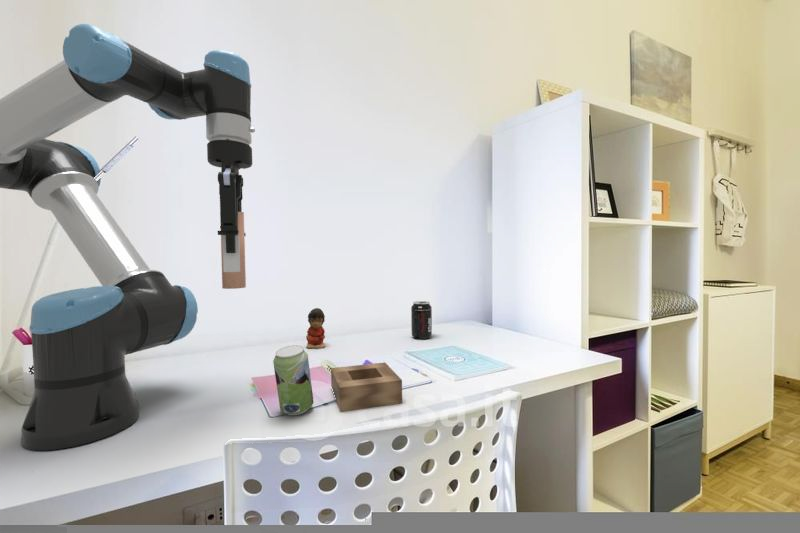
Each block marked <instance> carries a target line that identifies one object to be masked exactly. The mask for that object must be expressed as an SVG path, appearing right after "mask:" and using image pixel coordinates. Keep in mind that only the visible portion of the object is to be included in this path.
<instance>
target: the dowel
mask: <svg viewBox="0 0 800 533" xmlns="http://www.w3.org/2000/svg"><path fill="white" fill-rule="evenodd" d="M219 220H220V223H219V224H220V225H221V218H220V219H219ZM238 230H239V233H238V235H235V236H239V242H240V272H223V238H222V236H226V235H220V252H221V284H222V286H221V287H222V289H224V290H225V289H227V290H229V289H234V290H235V289H237V290H238V289H245V288H246V287H247V285H246V284H247V282H246V279H247V278H246V277H247V276H246V244H245V242H246V240H245V236H244V233H245V212H244V211H242V212H238Z"/></svg>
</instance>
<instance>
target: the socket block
mask: <svg viewBox="0 0 800 533" xmlns="http://www.w3.org/2000/svg"><path fill="white" fill-rule="evenodd" d="M330 381H331V382H330V383H331V387H332V389H333V392H334V394H333V396H334V395H335V397H334V399H335V398H336V400H335V403H336V405H337V407H338V409H339V412H347V411H356V410H362V409H368V408H375V407H383V406H391V405H397V404H403V379H402V378H401V377H400V376H399V375H398V374H397V373H396V372H395V371H394V370H393V369H392V368H391V367H390V366H389V365H388V364H387V363H386V362H377V363H367V364H360V365H359V364H358V365H348V366H341V367H338V366H337V367H331V368H330ZM332 389H331V390H332ZM333 392H332V393H333Z"/></svg>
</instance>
